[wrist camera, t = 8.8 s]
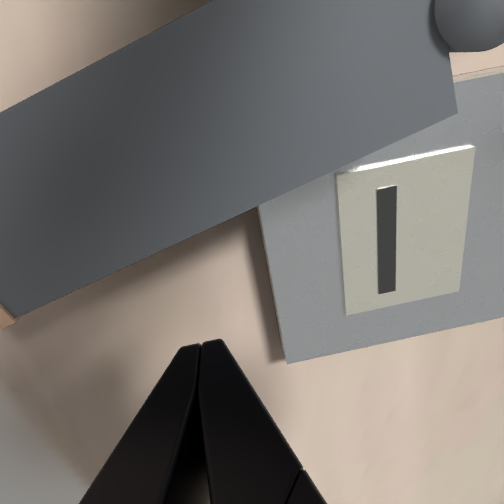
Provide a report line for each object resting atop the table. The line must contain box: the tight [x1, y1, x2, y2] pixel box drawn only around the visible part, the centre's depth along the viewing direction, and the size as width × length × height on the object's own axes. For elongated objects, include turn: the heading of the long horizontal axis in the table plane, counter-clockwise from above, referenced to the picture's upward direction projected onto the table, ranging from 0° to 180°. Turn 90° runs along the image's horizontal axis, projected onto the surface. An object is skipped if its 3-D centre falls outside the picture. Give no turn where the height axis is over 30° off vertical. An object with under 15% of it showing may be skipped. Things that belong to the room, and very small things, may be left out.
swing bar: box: [0, 0, 504, 330], centre depth 12 cm, size 19×5×5 cm, turn 114°
